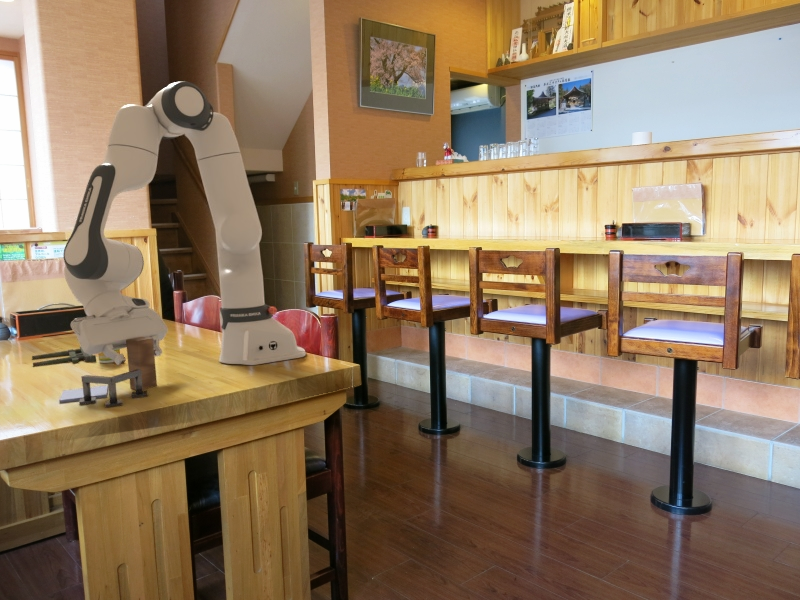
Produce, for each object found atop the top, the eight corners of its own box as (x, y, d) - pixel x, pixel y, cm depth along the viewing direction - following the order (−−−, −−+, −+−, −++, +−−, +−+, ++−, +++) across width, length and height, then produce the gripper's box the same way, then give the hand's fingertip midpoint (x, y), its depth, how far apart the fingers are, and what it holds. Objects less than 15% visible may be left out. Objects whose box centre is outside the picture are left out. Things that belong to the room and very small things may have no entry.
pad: (107, 387, 148) (107, 385, 148) (106, 397, 140) (106, 394, 140) (63, 393, 145) (63, 390, 145) (59, 403, 137) (59, 400, 137)
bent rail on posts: (146, 393, 142) (144, 367, 142) (148, 402, 135) (145, 375, 134) (80, 401, 137) (77, 375, 137) (77, 411, 130) (75, 383, 129)
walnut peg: (145, 383, 151) (141, 336, 149) (157, 385, 149) (152, 337, 147) (130, 388, 147) (125, 339, 146) (141, 390, 145) (137, 341, 144)
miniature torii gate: (31, 352, 190) (88, 344, 197) (32, 360, 190) (89, 351, 198) (32, 365, 171) (95, 355, 179) (34, 374, 172) (96, 363, 179)
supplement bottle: (112, 363, 175) (109, 327, 174) (94, 363, 177) (91, 327, 175) (124, 359, 181) (121, 324, 180) (107, 359, 182) (104, 324, 181)
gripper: (71, 310, 141) (103, 358, 137) (153, 298, 158) (183, 341, 154) (62, 329, 144) (92, 377, 140) (142, 316, 161) (172, 358, 157)
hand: (140, 358), depth 147 cm, fingers open, 8 cm apart
